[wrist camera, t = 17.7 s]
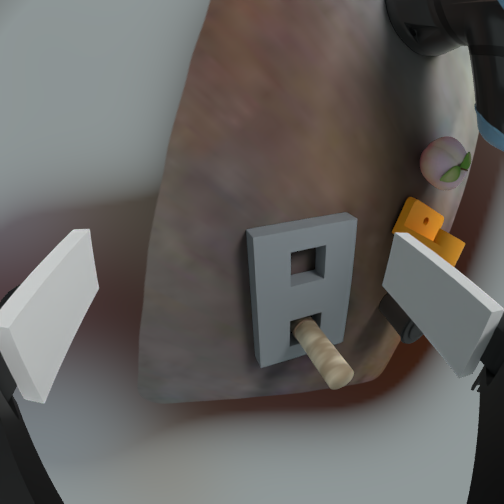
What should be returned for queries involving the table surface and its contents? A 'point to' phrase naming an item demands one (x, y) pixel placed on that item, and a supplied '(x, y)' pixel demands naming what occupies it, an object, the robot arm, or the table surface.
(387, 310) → the coffee cup
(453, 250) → the bracket
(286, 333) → the stool seat
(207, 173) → the table surface
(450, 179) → the decorative fruit
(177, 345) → the table surface
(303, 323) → the maple leg
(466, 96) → the table surface
